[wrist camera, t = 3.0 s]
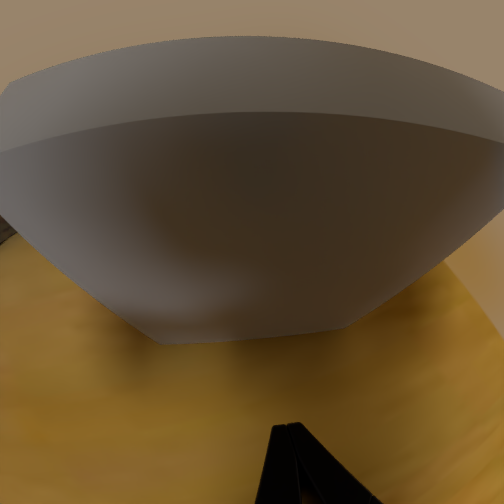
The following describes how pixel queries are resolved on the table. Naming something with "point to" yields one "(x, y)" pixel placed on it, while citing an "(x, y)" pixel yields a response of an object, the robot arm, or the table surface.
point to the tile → (248, 179)
